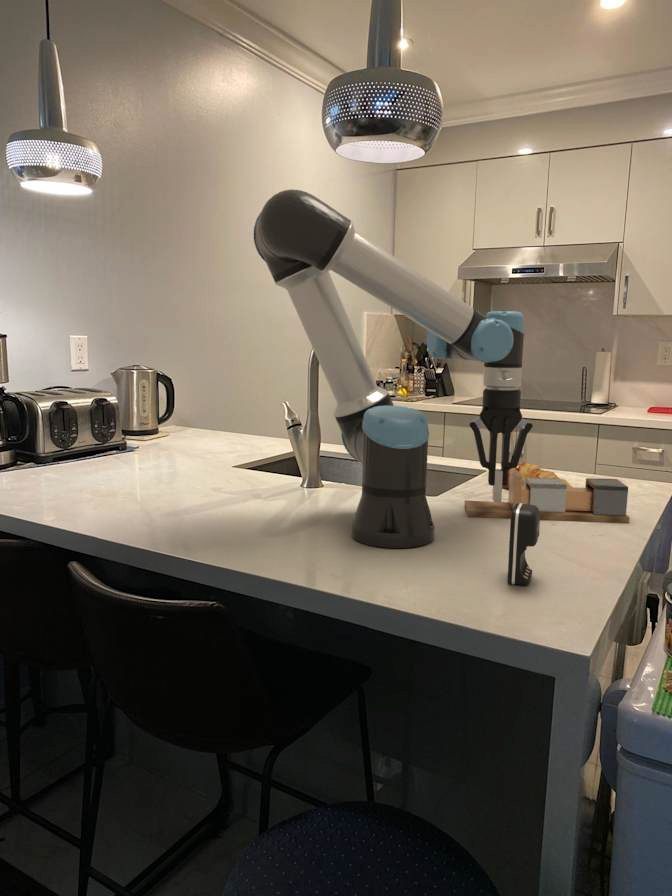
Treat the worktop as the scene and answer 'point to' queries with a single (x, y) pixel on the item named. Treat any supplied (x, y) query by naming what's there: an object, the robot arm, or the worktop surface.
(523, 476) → the croissant
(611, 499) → the grey box
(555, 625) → the worktop surface
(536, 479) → the grey concrete cube
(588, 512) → the board
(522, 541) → the battery charger
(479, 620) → the worktop surface
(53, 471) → the worktop surface
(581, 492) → the wood grain post
